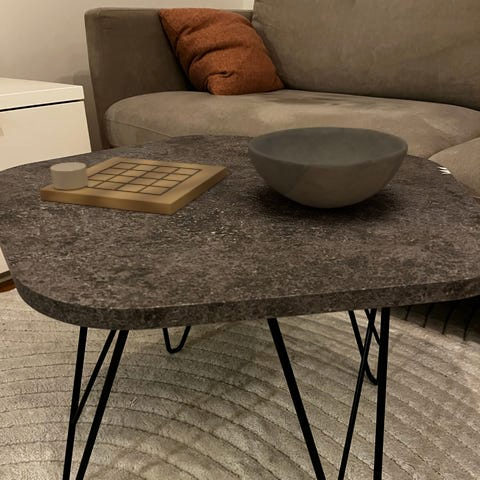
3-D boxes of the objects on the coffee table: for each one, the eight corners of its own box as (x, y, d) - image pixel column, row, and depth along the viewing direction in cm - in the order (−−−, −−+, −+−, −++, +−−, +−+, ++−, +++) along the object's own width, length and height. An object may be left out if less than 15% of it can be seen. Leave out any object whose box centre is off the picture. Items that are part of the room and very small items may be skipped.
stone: (45, 187, 81) (42, 169, 80) (66, 179, 85) (63, 161, 84) (75, 191, 80) (73, 172, 79) (94, 182, 84) (92, 163, 83)
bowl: (429, 218, 74) (439, 154, 71) (269, 231, 71) (270, 163, 67) (364, 175, 93) (369, 122, 89) (234, 183, 89) (233, 128, 85)
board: (40, 200, 82) (39, 188, 81) (114, 166, 98) (113, 156, 98) (171, 215, 76) (170, 202, 75) (226, 176, 93) (226, 166, 92)
